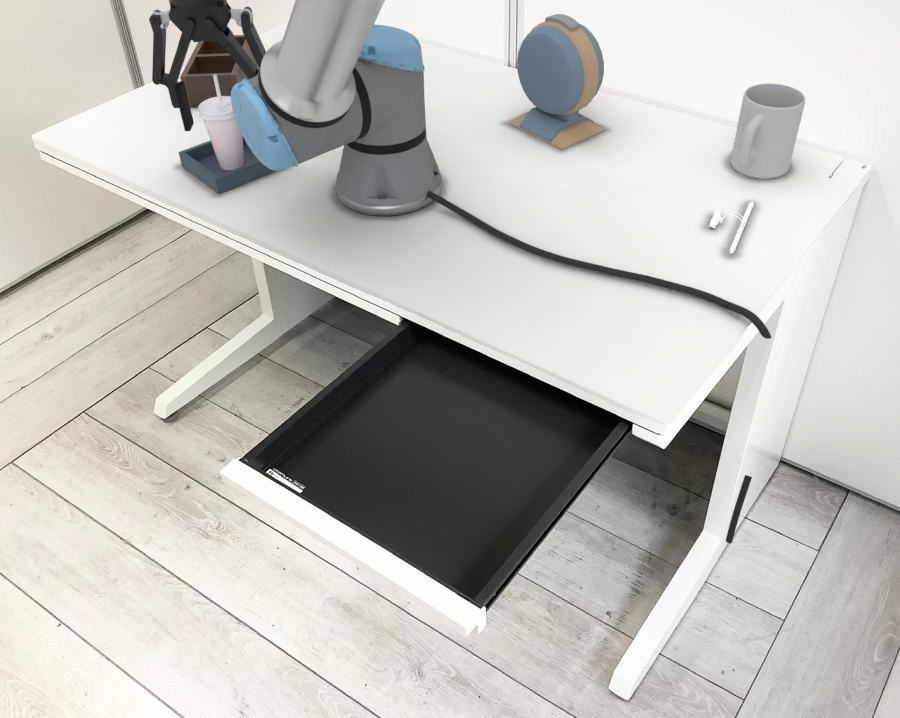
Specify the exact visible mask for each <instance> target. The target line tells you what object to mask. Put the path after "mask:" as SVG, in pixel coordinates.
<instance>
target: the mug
mask: <svg viewBox="0 0 900 718" xmlns="http://www.w3.org/2000/svg"><path fill="white" fill-rule="evenodd" d="M805 104H806V96H805V95H804V93H803V92H802V91H800V90H799V89H797V88H794V87H792V86H789V85H785V84H781V83H759V84H755V85H751V86H749V87H748V88H747V89H745V91H744V93H743V96H742V100H741V107H740V110H739V116H738V121H737V126H736V131H735V136H734V141H733V146H732V150H731V155H730V165H731V167H732V169H734V170H735V171H736V172H737V173H739V174H740V175H743V176H746V177H749V178H754V179H760V180H769V179H776V178H781V177H782V176H784V175H785V174H786V173H788V171H789V170H790V167H791V163H792V158H793V153H794V151H795V145H796V143H797V142H796V141H797V138H798V133H799V129H800V126H801V121H802V117H803V113H804V109H805Z"/></svg>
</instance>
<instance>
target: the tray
mask: <svg viewBox="0 0 900 718" xmlns="http://www.w3.org/2000/svg"><path fill="white" fill-rule="evenodd" d="M243 152H244V165H243V166H241V167H239V168H236V169H234V170H224V169H222V168H221V167H220V165H219V162H218V159H217V156H216V154H215V151H214V148H213V145H212V143H211V140H210V139H209V140H207V141H205V142H202V143H199V144H197V145H194V146H191V147H189V148H186V149H183V150H181V151H178V156H179V161H180V164H181V167H182V168H183V169H184V170H186V172H188V173H190V174H191V175H192V176H194V177H195V178H197V180H199V181H200V182H202V183H203V184H205V185H206V186H207V187H209V188H210V189H211V190H213V191H214V192H215V193H217V194H218V195H220V194H222V193H225V192H227V191H230V190H233V189H235V188H238V187H239V186H243V185H245V184H247V183H250V182H253V181H255V180H258V179H260V178H262V177H265V176H267V175H270V174H271V173H275V172H276V171H275V170H271V169H269V168H268V167H266V166H264V165H263V164H262V163H261V162H260V161H259V160H258V159H257V158H256V156H255V155H254V154H253V152H252V151H251V150H250V148H249V146H248V145H247V143H246V141H245V139H244V138H243Z"/></svg>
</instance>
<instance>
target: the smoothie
mask: <svg viewBox="0 0 900 718" xmlns="http://www.w3.org/2000/svg"><path fill="white" fill-rule="evenodd" d="M213 78H214V83H215V88H216V92H217V97H213V98H210V99H207V100H205V101H203V102H202V103H201V104H200V105H199V106H198V107H197V109H198V115H199V117H200V118H201V119H202V120H203V123H204V126H205V129H206V131H207V134H208V137H209V141H210V140H211V143H212V145H213V148H214V151H215V154H216V156H217V159H218V162H219V165H220V167H221V168H222V169H224V170H234V169H236V168H239V167H241V166H243V165H244V152H243V136H242V134H241V132H240V129H239V127H238V125H237V122H236V119H235V116H234V113H233V109H232V105H231V96H221V93H220V88H219V83H218V78H217V74H213Z"/></svg>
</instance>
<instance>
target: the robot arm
mask: <svg viewBox="0 0 900 718" xmlns="http://www.w3.org/2000/svg"><path fill="white" fill-rule="evenodd" d="M385 1H386V0H295V1H294V4H293V7H292V9H291V13H290V16H289V20H288V22H287V25H286V28H285V31H284V34H283V38H282V40H279V41H277V42H276V43H273V45H271V46H270V47H269V49H267V50H266V49H265V46H264V44H263V42H262V39H261V37H260V35H259V32H258V30H257V28H256V26H255V24H254V15H253V9H252V8H251V7H250V6H245V7H243V9H241V8H232V7H231V6H230V5H229V3H228V0H168V2H169V10H167V11H161V10H160V9H154V11H153V12H152V13H151V15H150V16H149V19H148V21H149V24H150V26H151V30H152V35H153V36H152V38H153V39H152V69H151V75H152V77H151V80H152V81H151V82H152V83H153V84H154V85H162V86H165V87H166V88H167V91H168V95H169V98H170V102H171V106H172V107H173V109H179V112H180V117H181V120H182V124H183V129H184V132H191V131H192V128H193V126H194V123H195V122H194V118H193V113H192V109H191V107H190V104H189V100H188V96H187V91H186V87H185V83H184V81H181V80H179V78H180V76H181V73H182V72H181V71H182V68H183V66H184V62H185V61H186V60H185V59H186V56H187V54H188V51H189V49H190V45H191V43H192V42H193V43H198V42H201V41H204V40H205V41H209V42H216V40H217V41H218V42H219V44H220V45H221V46H222V47H224V48H225V49H226V50H227V52H228V53H229V54H230V56H231V57H232V58H233V59H234V61H235V62H236V63H237V65H238V66H239V67H240V68H241V70H242V71H243V72H244V74H245V75H246V76H247V78H248V80H247V79H246V78H245V79H243V80H242V81H241V82H239V83H237V84H235V85H234V86H233V88H232V91H231V105H232V109H233V113H234V116H235V119H236V122H237V125H238V127H239V129H240V132H241V134H242V136H243V138H244V139H245V141H246V143H247V145H248V146H249V148H250V150H251V151H252V152H253V154H254V155H255V156H256V158H257V159H258V160H259V161H260V162H261V163H262V164H263V165H264V166H266V167H268V168H269V169H271V170H275V172H277V171H283V170H286V169H290V168H293V167H294V168H295V167H296V168H297V167H299V165H300V164H302V163H305V162H307V161H309V160H312V159H314V158H317V157H319V156H321V155H324V154H326V153H329V152H331V151H334V150H336V149H339V148H341V147H342V153H341V156H340V157H341V159H340V162H339V169H338V172H337V174H336V180H335V181H336V183H335V184H336V193H337V197H338V199H339V201H340V202H341V203H342V204H343V205H344V206H345V207H346V208H348V209H350V210H352V211H355V212H356V213H357V212H358V213H361V214H365V215H370V216H382V217H383V216H386V217H387V216H388V217H389V216H398V215H405V214H408V213H413V212H415V211H419V210H421V209H423V208H425V207H427V206H428V205H430V204H431V203H433V202H435V203H438V204H440V205H441V206H443V207H444V208H446V209H448V210H449V211H451V212H453V213H455V214H457V215H458V216H460V217H462V218H464V219H465V220H466V221H468V222H470V223H472V224H473V225H475V226H477V227H478V228H480V229H482V230H483V231H485V232H487V233H488V234H491V235H492V236H494V237H496V238H498V239H500V240H502V241H504V242H506V243H508V244H510V245H512V246H514V247H515V248H516V247H517V248H518V249H520V250H523V251H526V252H528V253H531V254H533V255H536V256H538V257H542V258H544V259H547V260H549V261H552V262H556V263H560V264H563V265H567V266H571V267H575V268H579V269H583V270H588V271H592V272H596V273H599V274H604V275H608V276H613V277H617V278H622V279H626V280H632V281H636V282H641V283H644V284H645V283H646V284H649V285H654V286H657V287H660V288H664V289H668V290H672V291H676V292H680V293H682V294H687V295H690V296H693V297H696V298H699V299H701V300H705V301H707V302H710V303H712V304H714V305H717V306H718V307H720V308H723V309H725V310H729V311H731V312H733V313H736V314H738V315H740V316H743V317H744V318H745V319H747V320H748V321H749V322H751V323H752V324H753V326H754V327H755V328H756V330H758V332H759V334H760V335H761V337H762V338H764V339H767V340H770V339H772V334H771V332H770V330H769V329H768V327H767V326H766V324H765V323H764V321H763V320H762V319H761V318H760V316H758V315H756V313H754V312H752V311H751V310H749V309H748V308H746V307H743V306H741V305H740V304H736V303H733V302H731V301H728V300H726V299H724V298H722V297H720V296H717V295H715V294H712V293H709V292H707V291H704V290H702V289H698V288H695V287H691V286H688V285H684V284H680V283H677V282H673V281H670V280H665V279H663V278H659V277H654V276H650V275H647V274H646V275H645V274H642V273H637V272H631V271H627V270H622V269H617V268H614V267H610V266H604V265H600V264H596V263H592V262H587V261H583V260H580V259H579V260H578V259H576V258H575V259H574V258H571V257H567V256H563V255H560V254H556V253H554V252H551V251H547V250H544V249H542V248H540V247H537V246H534V245H531V244H529V243H526V242H525V241H522V240H519V239H517V238H516V237H513V236H512V235H509V234H507V233H505V232H503V231H501V230H499V229H497V228H495V227H493V226H492V225H490V224H489V223H486V222H485V221H483V220H482V219H479V217H477V216H475V215H474V214H471V213H470V212H468V211H467V210H465V209H463V208H462V207H460V206H458V205H456V204H454V203H453V202H451V201H449V200H447V199H445V198H444V197H443V196H440V194H441V190H442V175H441V172H440V168H439V166H438V163H437V160H436V157H435V156H434V152H433V150H432V148H431V146H430V143H429V140H428V137H427V121H426V105H425V104H426V103H425V102H426V101H425V100H426V99H425V65H424V60H423V53H422V52H423V51H422V45H421V42H420V40H419V39H418V38H417V36H415V35H414V34H412V33H410V32H409V31H407V30H404V29H401V28H398V27H395V26H390V25H384V24H375V23H376V21H377V19H378V17H379V14H380V12H381V10H382V8H383V6H384V4H385ZM231 19H232V20H234V22H236V25H237V26H238V27H241V31H242V35H244V36H245V39H246V41H247V43H248V45H249V47H250V49H251V52H252V54H253V56H254V58H255V60H256V63H257V66H256V65H255V64H254V62H253V61H252V60H251V58H250V57H249V56H248V54H247V53H246V52H245V50H244V49H243V48H242V46H241V45H240V44H239V42H238V41H237V40H236V39H235V37H234V35H235V34H234V33H233V31H232V30H231V28H230V27H229V26H228V25H229V23H230V21H231ZM170 22H171V23H172V24H173V25H174V26H175V27H176V28H177V29H178V30H179V31H180V32H181V34H180V36H179V41H178V45H177V47H176V50H175V54H174V57H173V60H172V63H171V66H170V69H169V72H166V51H167V50H166V49H167V48H166V47H167V28H168V27H169V25H170ZM752 479H753V476H751V475H746V474H745V475H744V476H743V480H742V483H741V486H740V489H739V492H738V495H737V499H736V500H735V501H736V502H735V505H734V508H733V511H732V515H731V518H730V522H729V526H728V530H727V532H726V537H725V543H727V544H732V543H733V541H734V537H735V532H736V529H737V526H738V522H739V519H740V515H741V513H742V509H743V506H744V503H745V500H746V498H747V493H748V491H749V488H750V485H751V482H752Z"/></svg>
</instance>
